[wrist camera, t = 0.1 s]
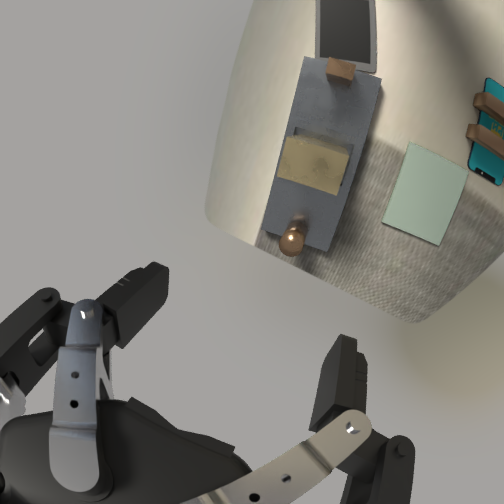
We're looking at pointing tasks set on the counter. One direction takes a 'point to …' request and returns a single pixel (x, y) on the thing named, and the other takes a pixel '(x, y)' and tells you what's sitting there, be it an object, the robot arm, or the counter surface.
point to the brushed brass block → (313, 163)
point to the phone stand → (482, 134)
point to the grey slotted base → (326, 129)
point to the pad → (425, 194)
